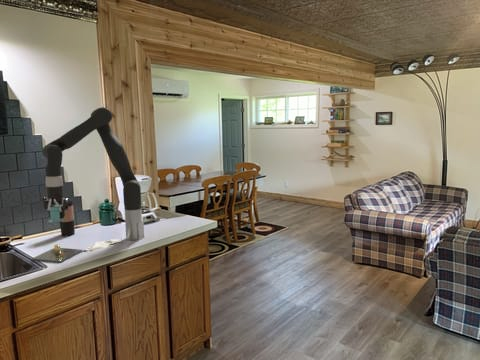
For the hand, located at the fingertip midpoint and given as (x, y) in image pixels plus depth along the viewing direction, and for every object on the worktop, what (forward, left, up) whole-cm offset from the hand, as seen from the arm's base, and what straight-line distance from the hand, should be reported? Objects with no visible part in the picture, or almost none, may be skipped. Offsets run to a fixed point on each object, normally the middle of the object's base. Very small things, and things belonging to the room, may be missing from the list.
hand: (56, 217), depth 181 cm
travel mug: (+16, -27, -18) cm, 36 cm away
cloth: (-16, -14, -19) cm, 28 cm away
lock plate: (-3, +5, -18) cm, 19 cm away
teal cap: (0, 0, -1) cm, 1 cm away
